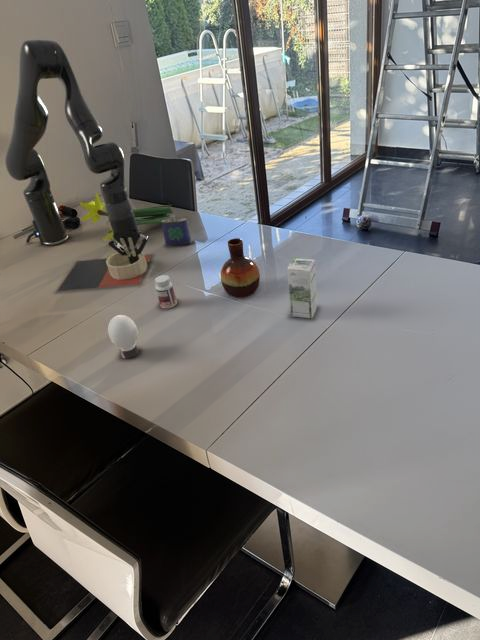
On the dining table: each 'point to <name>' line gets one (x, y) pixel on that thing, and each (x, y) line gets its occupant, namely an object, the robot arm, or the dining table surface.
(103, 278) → the placemat
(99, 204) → the daffodil flowers
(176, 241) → the flask
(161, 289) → the pill bottle
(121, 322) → the light bulb
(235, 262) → the vase
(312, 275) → the syrup box
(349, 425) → the dining table surface
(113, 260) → the bowl
